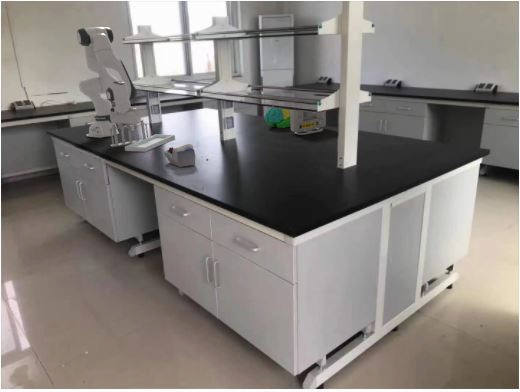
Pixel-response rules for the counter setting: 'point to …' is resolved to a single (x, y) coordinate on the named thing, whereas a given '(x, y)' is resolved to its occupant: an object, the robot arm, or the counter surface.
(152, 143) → the tray
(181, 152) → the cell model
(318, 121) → the network device
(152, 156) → the counter surface
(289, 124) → the brain model
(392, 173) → the counter surface
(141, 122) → the test tube rack
